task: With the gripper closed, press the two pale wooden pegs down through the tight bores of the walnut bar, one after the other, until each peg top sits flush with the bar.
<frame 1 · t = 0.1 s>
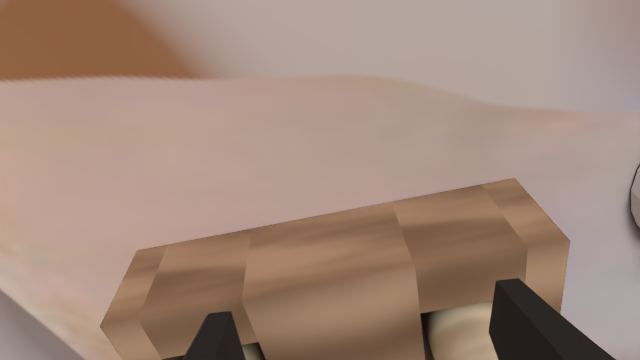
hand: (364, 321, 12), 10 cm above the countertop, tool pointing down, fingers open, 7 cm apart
collar bar: (337, 284, 24), on the countertop
peg 1: (477, 349, 19), point 6 cm above the countertop, slide at 0.0 cm
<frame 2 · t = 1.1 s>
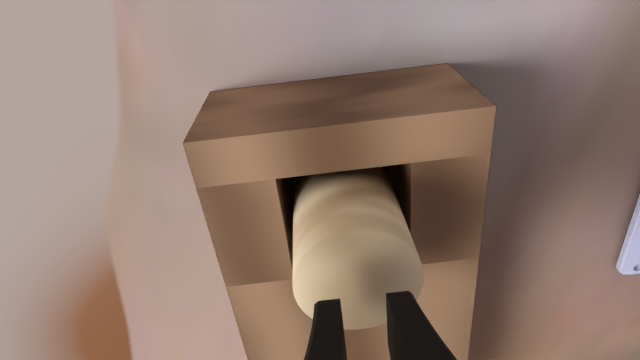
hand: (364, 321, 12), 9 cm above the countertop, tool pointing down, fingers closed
collar bar: (346, 259, 23), on the countertop
peg 1: (349, 235, 15), point 6 cm above the countertop, slide at 0.0 cm
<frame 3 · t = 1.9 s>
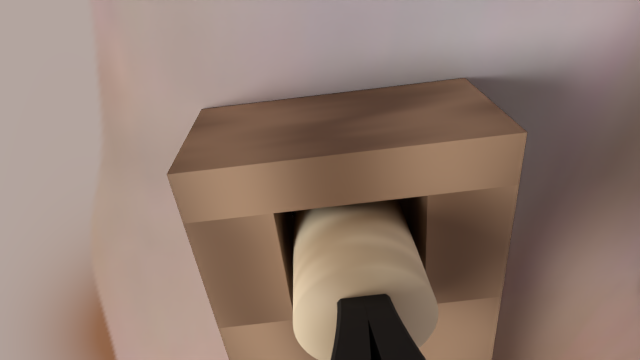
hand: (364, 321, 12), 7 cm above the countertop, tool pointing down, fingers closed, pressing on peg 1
collar bar: (350, 286, 21), on the countertop
peg 1: (355, 263, 14), point 5 cm above the countertop, slide at 0.6 cm, touching gripper
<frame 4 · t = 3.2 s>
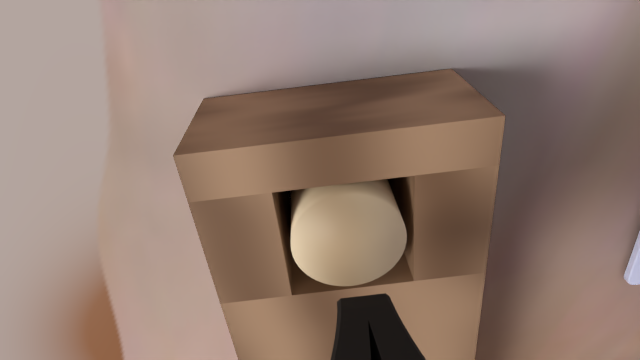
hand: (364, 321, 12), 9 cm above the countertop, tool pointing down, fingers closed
collar bar: (345, 269, 22), on the countertop
peg 1: (342, 204, 17), point 3 cm above the countertop, slide at 2.8 cm
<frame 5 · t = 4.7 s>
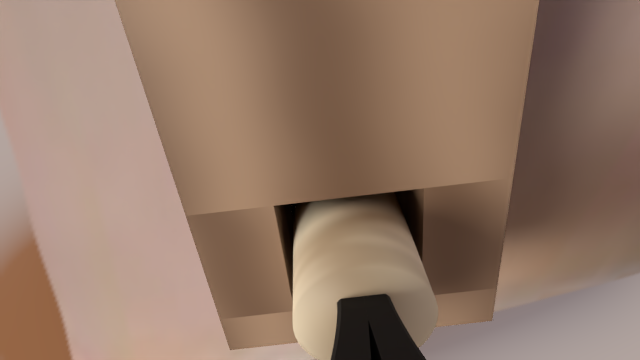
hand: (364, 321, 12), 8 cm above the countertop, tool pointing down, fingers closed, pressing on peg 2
collar bar: (326, 36, 15), on the countertop
peg 2: (355, 263, 14), point 5 cm above the countertop, slide at 0.2 cm, touching gripper
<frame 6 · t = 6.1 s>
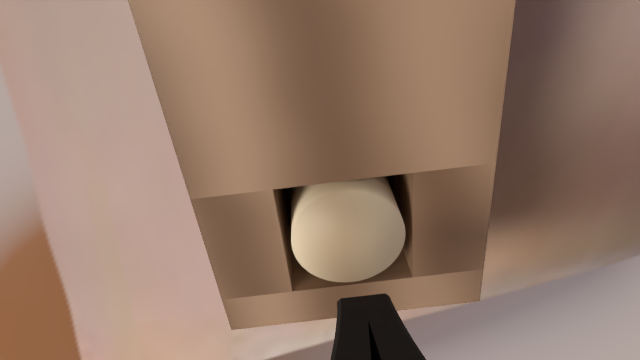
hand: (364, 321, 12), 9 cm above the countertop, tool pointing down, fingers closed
collar bar: (322, 32, 16), on the countertop
peg 2: (341, 202, 17), point 3 cm above the countertop, slide at 2.8 cm
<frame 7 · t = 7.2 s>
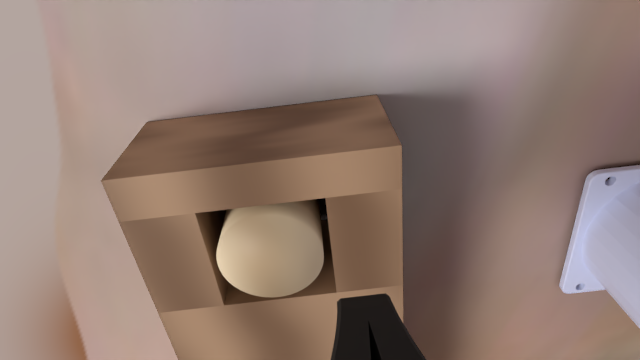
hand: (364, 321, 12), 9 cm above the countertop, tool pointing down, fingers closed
collar bar: (293, 278, 23), on the countertop
peg 1: (273, 220, 18), point 3 cm above the countertop, slide at 2.8 cm
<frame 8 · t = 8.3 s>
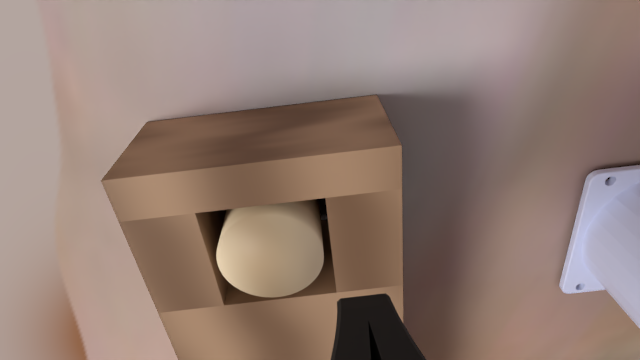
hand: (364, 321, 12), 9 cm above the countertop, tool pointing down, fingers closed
collar bar: (293, 278, 23), on the countertop
peg 1: (273, 220, 18), point 3 cm above the countertop, slide at 2.8 cm
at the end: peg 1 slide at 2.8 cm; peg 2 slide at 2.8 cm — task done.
